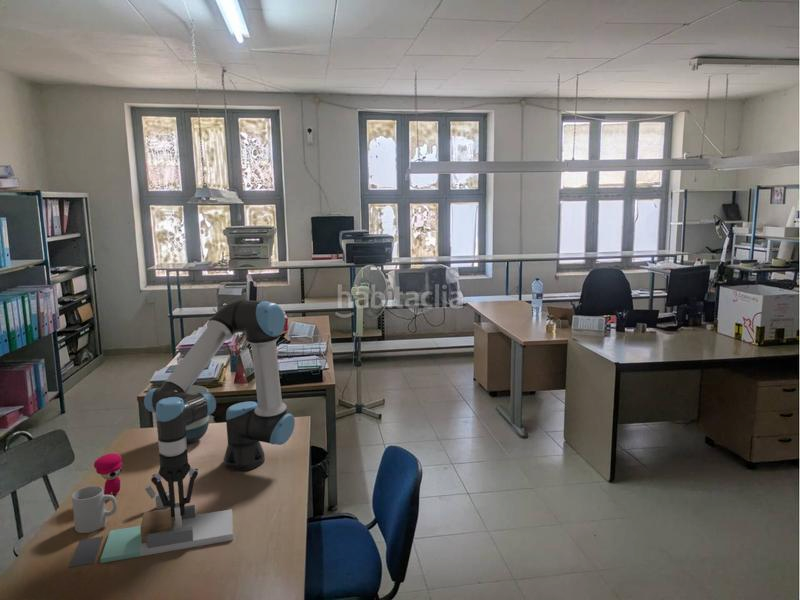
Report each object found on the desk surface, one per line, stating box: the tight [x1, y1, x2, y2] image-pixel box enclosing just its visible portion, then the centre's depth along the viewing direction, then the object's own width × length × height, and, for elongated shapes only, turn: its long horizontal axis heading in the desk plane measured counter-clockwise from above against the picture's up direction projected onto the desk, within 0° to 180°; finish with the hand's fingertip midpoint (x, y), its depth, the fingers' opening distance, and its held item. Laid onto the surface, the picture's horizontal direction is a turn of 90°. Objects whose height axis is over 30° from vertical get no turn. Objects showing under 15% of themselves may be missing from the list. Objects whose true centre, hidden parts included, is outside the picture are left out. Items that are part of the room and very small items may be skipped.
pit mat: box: [67, 536, 104, 569], centre depth 155 cm, size 6×13×1 cm, turn 18°
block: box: [140, 508, 174, 543], centre depth 160 cm, size 8×8×5 cm
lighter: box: [144, 484, 170, 510], centre depth 178 cm, size 7×2×8 cm, turn 106°
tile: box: [100, 525, 142, 564], centre depth 158 cm, size 10×14×1 cm
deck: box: [139, 504, 234, 557], centre depth 163 cm, size 25×14×6 cm, turn 108°
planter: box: [186, 384, 210, 446], centre depth 226 cm, size 20×20×21 cm
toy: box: [93, 452, 123, 496], centre depth 183 cm, size 8×8×15 cm
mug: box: [71, 485, 118, 534], centre depth 168 cm, size 12×8×11 cm
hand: (178, 525), depth 162 cm, fingers closed
